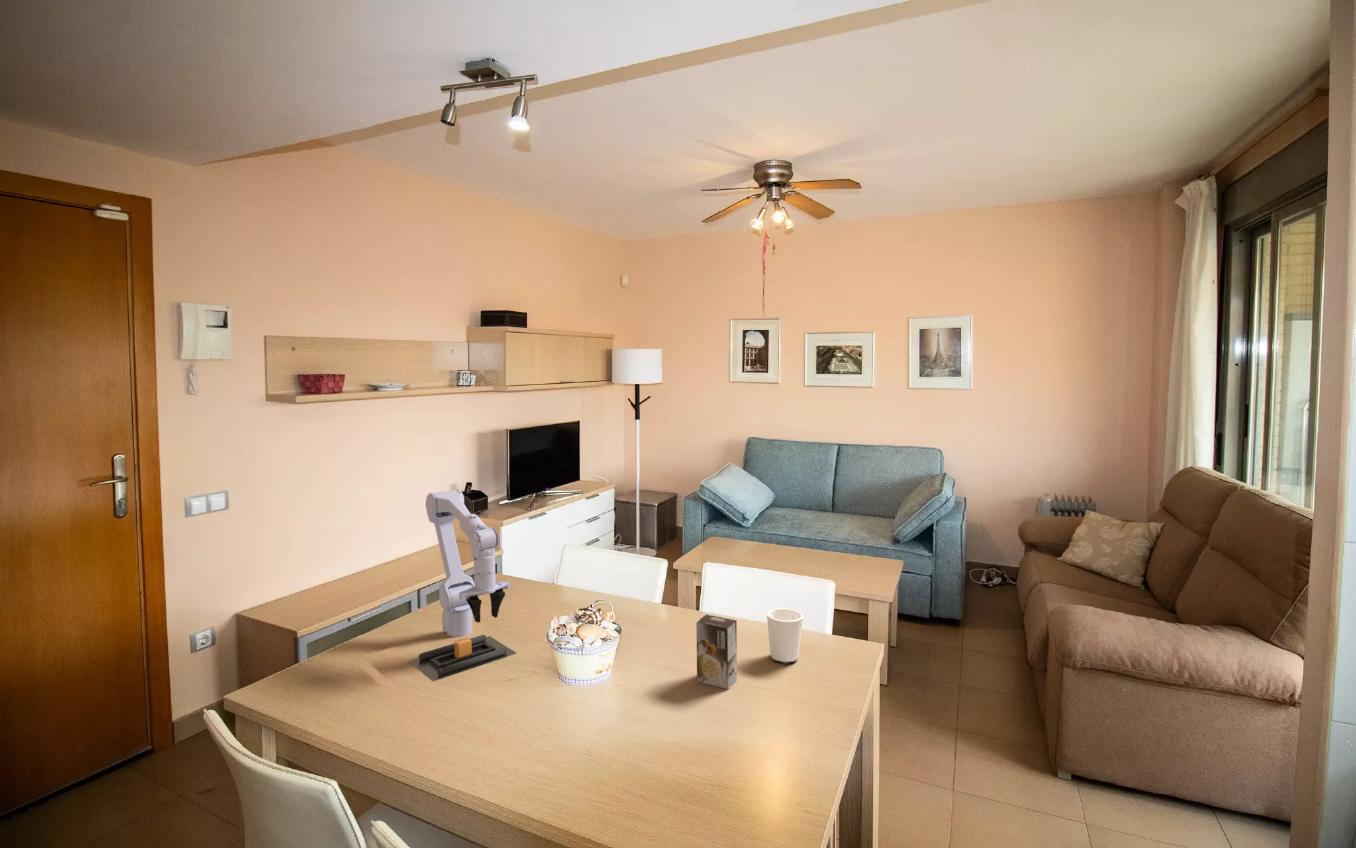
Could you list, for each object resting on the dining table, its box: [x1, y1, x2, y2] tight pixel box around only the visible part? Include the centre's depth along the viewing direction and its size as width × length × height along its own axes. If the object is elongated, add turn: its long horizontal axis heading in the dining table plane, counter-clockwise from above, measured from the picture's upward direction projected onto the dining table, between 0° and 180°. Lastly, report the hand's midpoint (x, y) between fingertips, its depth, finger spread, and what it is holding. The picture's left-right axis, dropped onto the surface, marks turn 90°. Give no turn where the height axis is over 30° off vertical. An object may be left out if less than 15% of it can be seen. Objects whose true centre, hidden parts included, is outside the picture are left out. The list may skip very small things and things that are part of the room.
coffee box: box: [695, 614, 738, 690], centre depth 174 cm, size 9×6×16 cm
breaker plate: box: [408, 635, 518, 682], centre depth 186 cm, size 16×24×2 cm, turn 133°
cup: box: [766, 607, 804, 665], centre depth 187 cm, size 10×10×13 cm
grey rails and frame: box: [418, 634, 507, 675], centre depth 186 cm, size 14×20×2 cm
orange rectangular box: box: [453, 637, 472, 658], centre depth 185 cm, size 3×4×4 cm
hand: (486, 619), depth 190 cm, fingers open, 5 cm apart
